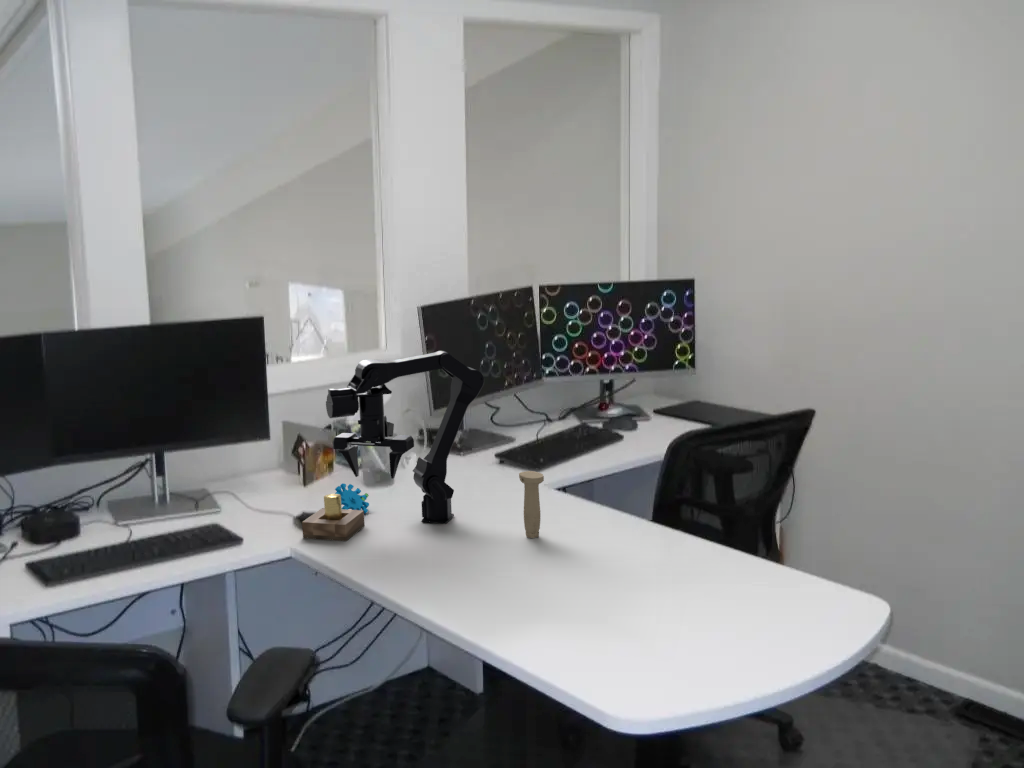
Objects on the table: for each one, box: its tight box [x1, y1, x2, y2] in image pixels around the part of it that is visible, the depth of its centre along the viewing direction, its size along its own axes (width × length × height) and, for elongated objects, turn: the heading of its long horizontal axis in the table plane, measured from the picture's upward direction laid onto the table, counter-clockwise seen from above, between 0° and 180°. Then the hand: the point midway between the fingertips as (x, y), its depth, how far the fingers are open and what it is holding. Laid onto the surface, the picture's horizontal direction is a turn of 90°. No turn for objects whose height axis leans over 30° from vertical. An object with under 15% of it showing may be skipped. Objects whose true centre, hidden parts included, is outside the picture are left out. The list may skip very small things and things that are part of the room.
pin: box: [323, 493, 343, 521], centre depth 239 cm, size 4×4×8 cm
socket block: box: [301, 507, 365, 542], centre depth 240 cm, size 11×11×4 cm
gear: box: [334, 483, 370, 515], centre depth 255 cm, size 11×6×10 cm
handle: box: [518, 470, 545, 539], centre depth 233 cm, size 5×6×15 cm
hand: (374, 477), depth 239 cm, fingers open, 9 cm apart
